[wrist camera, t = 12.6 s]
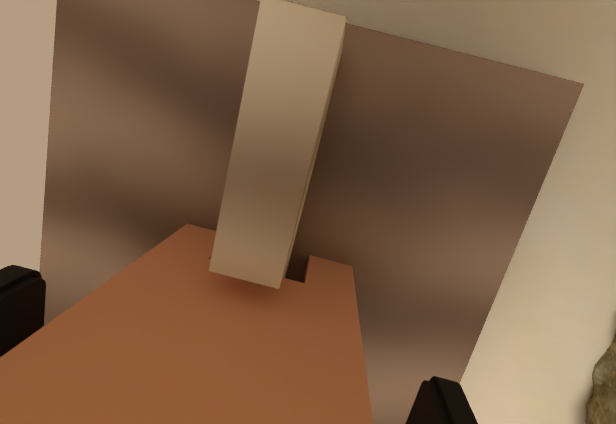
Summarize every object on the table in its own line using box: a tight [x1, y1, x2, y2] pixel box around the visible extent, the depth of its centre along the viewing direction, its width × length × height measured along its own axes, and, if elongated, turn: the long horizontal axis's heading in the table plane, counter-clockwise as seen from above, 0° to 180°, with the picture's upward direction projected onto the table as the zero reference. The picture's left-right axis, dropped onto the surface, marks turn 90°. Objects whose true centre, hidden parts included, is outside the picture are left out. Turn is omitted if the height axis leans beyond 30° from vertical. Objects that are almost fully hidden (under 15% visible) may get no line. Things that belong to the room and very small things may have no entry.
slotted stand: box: [40, 0, 584, 424], centre depth 14 cm, size 20×19×6 cm
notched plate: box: [0, 224, 373, 424], centre depth 11 cm, size 2×7×10 cm, turn 76°
